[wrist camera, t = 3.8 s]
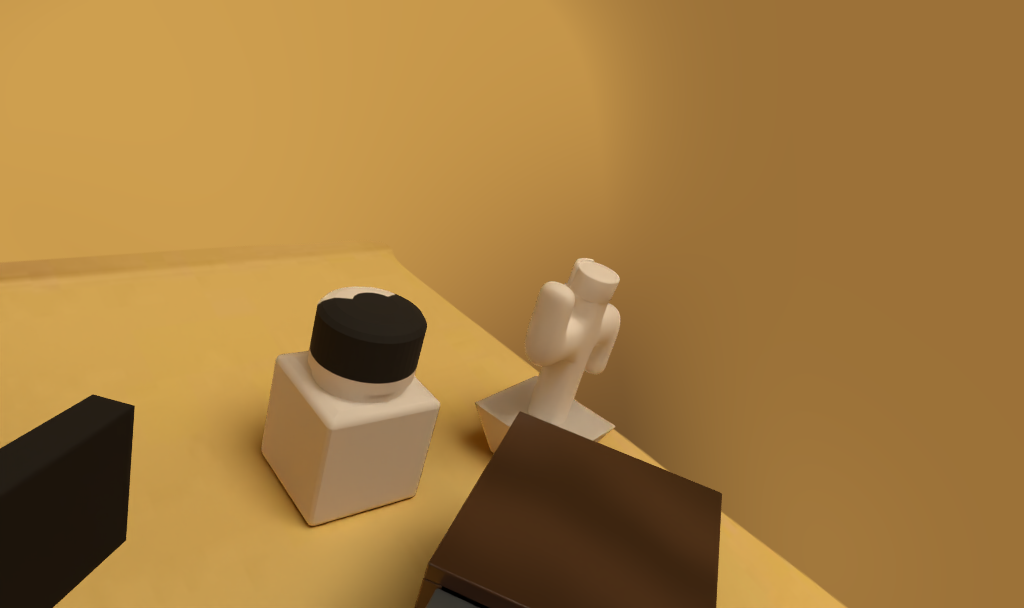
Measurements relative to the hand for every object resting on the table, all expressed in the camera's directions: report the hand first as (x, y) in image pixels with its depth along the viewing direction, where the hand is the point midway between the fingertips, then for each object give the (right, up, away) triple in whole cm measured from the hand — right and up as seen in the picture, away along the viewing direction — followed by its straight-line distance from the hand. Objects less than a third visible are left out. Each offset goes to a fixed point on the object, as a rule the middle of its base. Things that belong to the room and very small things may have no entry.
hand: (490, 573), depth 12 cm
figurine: (+2, -7, +40) cm, 41 cm away
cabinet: (+2, -14, +24) cm, 28 cm away
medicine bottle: (-10, -6, +33) cm, 35 cm away
